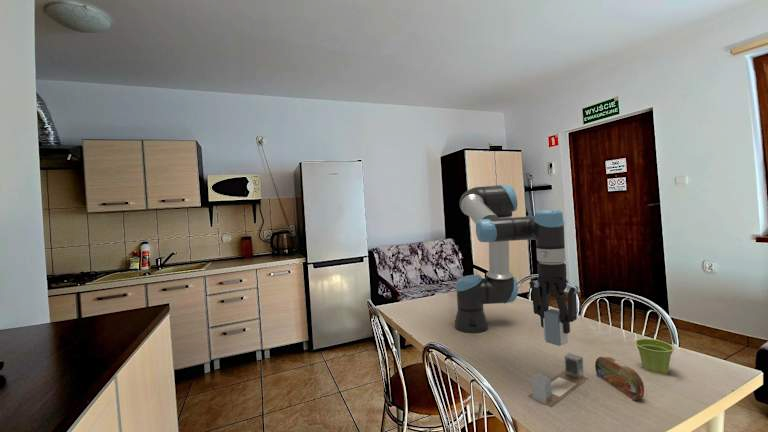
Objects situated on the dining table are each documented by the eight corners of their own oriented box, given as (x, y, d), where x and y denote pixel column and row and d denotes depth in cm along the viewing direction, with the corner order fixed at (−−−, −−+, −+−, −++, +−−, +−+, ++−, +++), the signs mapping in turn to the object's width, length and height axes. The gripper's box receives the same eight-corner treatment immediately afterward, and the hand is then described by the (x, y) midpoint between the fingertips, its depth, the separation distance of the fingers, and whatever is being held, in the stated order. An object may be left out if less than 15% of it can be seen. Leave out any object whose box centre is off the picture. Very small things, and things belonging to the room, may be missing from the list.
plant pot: (678, 382, 96) (677, 353, 96) (638, 375, 101) (637, 347, 101) (671, 368, 104) (670, 341, 103) (634, 362, 109) (633, 336, 108)
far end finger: (564, 375, 101) (563, 356, 101) (570, 371, 103) (569, 353, 103) (578, 380, 98) (577, 361, 98) (583, 376, 100) (582, 357, 100)
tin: (594, 378, 101) (593, 352, 100) (604, 377, 101) (602, 351, 101) (636, 407, 86) (635, 376, 85) (647, 406, 86) (646, 375, 86)
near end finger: (532, 398, 91) (531, 377, 91) (539, 393, 93) (538, 372, 93) (546, 404, 87) (545, 382, 87) (553, 399, 89) (551, 378, 89)
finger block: (545, 341, 96) (544, 311, 96) (554, 337, 98) (552, 308, 98) (559, 346, 92) (557, 314, 92) (567, 341, 95) (566, 311, 95)
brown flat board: (527, 400, 92) (527, 395, 92) (565, 373, 104) (565, 369, 104) (552, 411, 86) (551, 406, 86) (589, 382, 99) (589, 377, 99)
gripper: (517, 261, 100) (521, 336, 100) (575, 267, 86) (580, 354, 86) (530, 258, 104) (535, 330, 104) (588, 263, 90) (593, 346, 90)
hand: (555, 341), depth 95 cm, fingers closed on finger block, 4 cm apart
